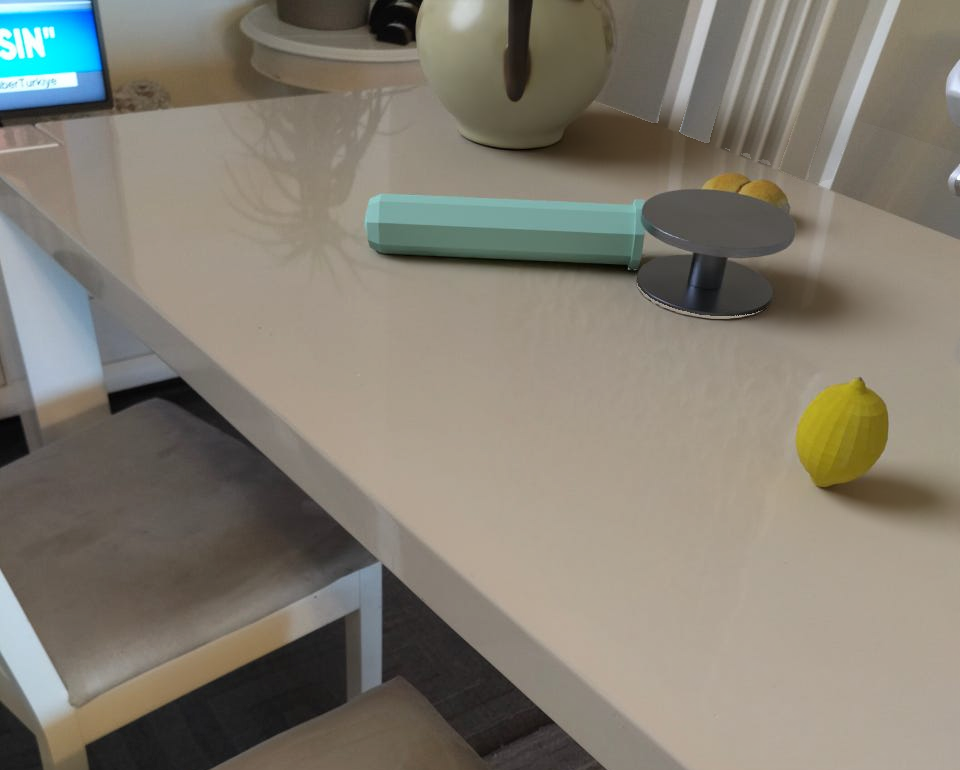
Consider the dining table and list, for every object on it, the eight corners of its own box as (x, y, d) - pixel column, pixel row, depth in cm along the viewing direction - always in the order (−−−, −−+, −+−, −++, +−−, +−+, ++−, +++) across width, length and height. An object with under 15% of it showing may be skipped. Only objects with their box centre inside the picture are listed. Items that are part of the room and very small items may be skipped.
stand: (795, 282, 89) (815, 211, 84) (748, 337, 81) (767, 262, 76) (664, 247, 93) (676, 178, 89) (606, 295, 85) (616, 222, 81)
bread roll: (718, 196, 104) (727, 156, 101) (795, 220, 100) (806, 179, 97) (678, 216, 99) (685, 175, 96) (756, 242, 95) (766, 200, 92)
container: (359, 184, 84) (648, 197, 84) (368, 189, 90) (639, 201, 90) (359, 257, 86) (641, 270, 86) (368, 257, 92) (633, 270, 92)
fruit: (877, 509, 64) (922, 401, 58) (795, 508, 63) (832, 399, 58) (850, 461, 68) (889, 356, 62) (772, 460, 67) (805, 354, 62)
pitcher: (520, 95, 126) (538, -152, 109) (651, 148, 114) (695, -121, 96) (378, 122, 116) (372, -147, 98) (505, 184, 103) (524, -112, 86)
